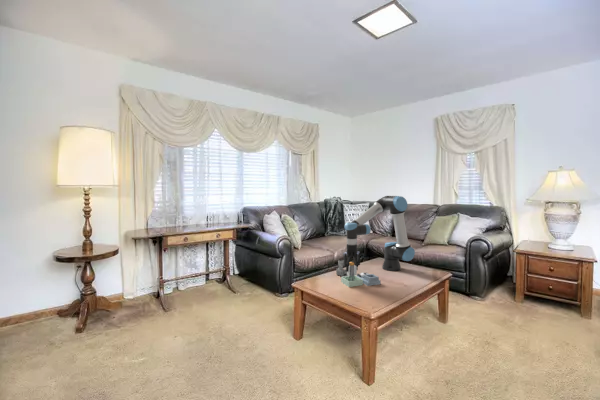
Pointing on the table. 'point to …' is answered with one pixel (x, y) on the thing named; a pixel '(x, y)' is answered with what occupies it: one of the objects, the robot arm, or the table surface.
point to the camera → (341, 269)
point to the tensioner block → (369, 279)
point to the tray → (349, 283)
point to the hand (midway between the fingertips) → (351, 275)
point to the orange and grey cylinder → (351, 271)
